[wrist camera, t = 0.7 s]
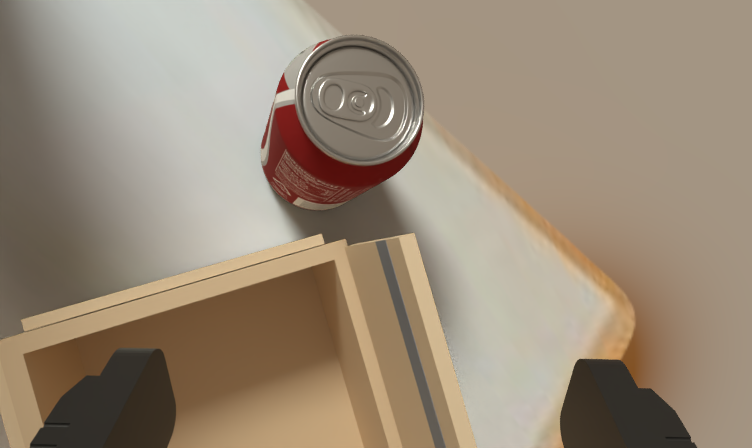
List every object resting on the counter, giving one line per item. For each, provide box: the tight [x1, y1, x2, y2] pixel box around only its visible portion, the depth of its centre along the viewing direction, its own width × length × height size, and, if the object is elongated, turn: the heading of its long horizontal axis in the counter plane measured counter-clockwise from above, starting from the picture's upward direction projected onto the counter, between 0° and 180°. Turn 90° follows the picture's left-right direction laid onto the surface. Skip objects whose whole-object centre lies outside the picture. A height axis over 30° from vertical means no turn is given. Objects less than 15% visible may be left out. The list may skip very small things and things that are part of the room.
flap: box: [345, 233, 477, 448], centre depth 20 cm, size 16×1×10 cm, turn 17°
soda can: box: [261, 35, 424, 211], centre depth 27 cm, size 7×7×12 cm
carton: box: [0, 234, 403, 448], centre depth 27 cm, size 18×15×8 cm
